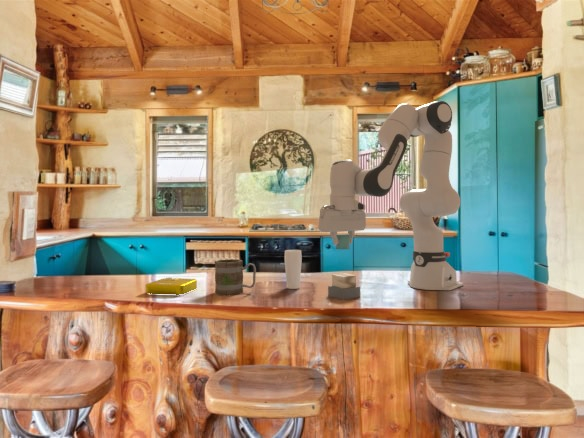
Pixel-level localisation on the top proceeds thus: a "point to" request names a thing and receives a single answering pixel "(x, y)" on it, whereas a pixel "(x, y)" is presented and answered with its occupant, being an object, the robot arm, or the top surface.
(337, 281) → the tower top
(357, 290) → the tower base
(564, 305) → the top surface
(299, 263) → the drinking glass
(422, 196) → the robot arm
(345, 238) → the teal cylinder
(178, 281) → the element tile
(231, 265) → the mug
